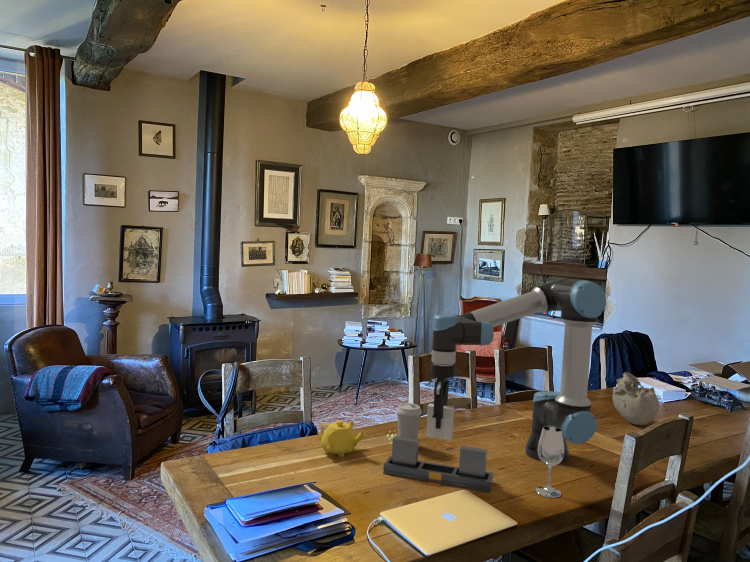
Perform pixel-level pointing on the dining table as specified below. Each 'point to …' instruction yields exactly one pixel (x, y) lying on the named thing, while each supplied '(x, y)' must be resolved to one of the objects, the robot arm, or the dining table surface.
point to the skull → (635, 400)
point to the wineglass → (550, 456)
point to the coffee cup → (408, 420)
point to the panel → (447, 422)
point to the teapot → (339, 438)
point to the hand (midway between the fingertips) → (439, 435)
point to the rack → (439, 466)
